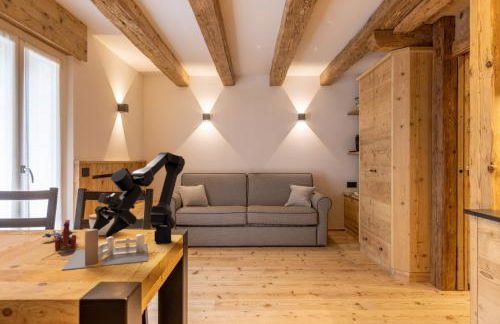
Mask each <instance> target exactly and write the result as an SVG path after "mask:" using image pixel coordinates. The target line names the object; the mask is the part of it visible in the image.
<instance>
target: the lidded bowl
mask: <svg viewBox="0 0 500 324" xmlns="http://www.w3.org/2000/svg"><path fill="white" fill-rule="evenodd" d="M96 218H97V216H96V214H95V213H94V214H89V215H88V223H89V228H90V229H92V228H93V226H94V224H95V221H96ZM113 222H114V218H113V219H112V220H110V223H108V224H107V225H106V226H104V227H103V228H101V229H100V230H99V231H98V236H105V235H106V233H107V231H108V230H109V228H110V227H111V225H112V224H113Z"/></svg>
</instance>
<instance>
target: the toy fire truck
mask: <svg viewBox="0 0 500 324" xmlns="http://www.w3.org/2000/svg"><path fill="white" fill-rule="evenodd" d="M70 222H71V221H70V219H66V220H65V221H64V223H63V230H64V231H63V230H62V231H63V232H61V233H62V236H58V237H56V238H55V240H54V250H60V249H61V248H68V247H69V245H70V248H71V249H73V248H74V249H75V247H76V245H77V235H76V234H71V235H70V231H71V230H70Z"/></svg>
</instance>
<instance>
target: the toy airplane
mask: <svg viewBox="0 0 500 324" xmlns="http://www.w3.org/2000/svg"><path fill="white" fill-rule="evenodd" d="M63 231H64V229H62V232H63ZM52 232H53V233H45V234H44V235H43V236H41V237H42V238H52V237H53V238H55V239H57V237H58V236H62V232H60V231H58V230H56V229H55V230H54V231H53V230H52ZM74 233H75V234H76V233H77V230H74V231H71V230H70V236H72V235H73V234H74Z"/></svg>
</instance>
